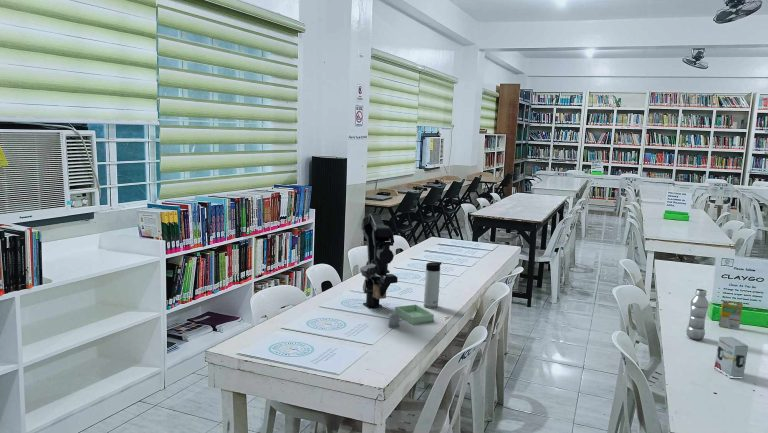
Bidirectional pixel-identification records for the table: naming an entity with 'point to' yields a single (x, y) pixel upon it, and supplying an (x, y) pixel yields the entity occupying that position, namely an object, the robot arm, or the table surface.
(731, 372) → the ink box
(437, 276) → the travel mug
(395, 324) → the grey domed knob
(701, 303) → the plastic bottle
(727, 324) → the crayon box
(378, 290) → the walnut block
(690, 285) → the table surface
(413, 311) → the parts tray
